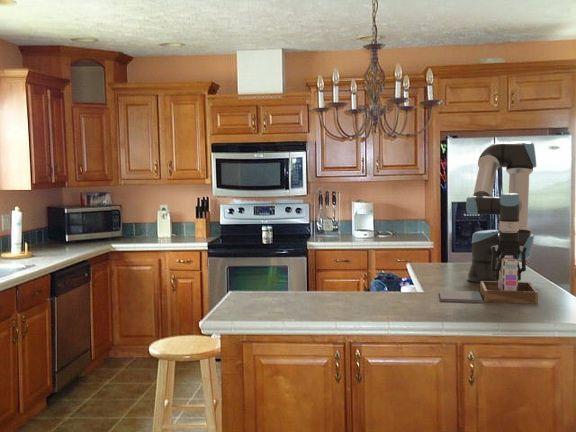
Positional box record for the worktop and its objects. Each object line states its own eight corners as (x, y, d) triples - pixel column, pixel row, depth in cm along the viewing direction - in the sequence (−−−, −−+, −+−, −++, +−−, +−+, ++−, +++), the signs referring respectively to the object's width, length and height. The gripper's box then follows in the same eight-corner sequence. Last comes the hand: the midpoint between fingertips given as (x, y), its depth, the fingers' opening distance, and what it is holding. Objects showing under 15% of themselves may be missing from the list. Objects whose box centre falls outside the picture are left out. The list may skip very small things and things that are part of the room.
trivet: (439, 293, 275) (439, 290, 275) (479, 294, 271) (479, 291, 271) (440, 301, 259) (440, 298, 259) (482, 302, 256) (482, 299, 256)
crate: (480, 291, 277) (480, 281, 277) (529, 293, 273) (529, 282, 273) (484, 301, 258) (484, 290, 257) (537, 303, 253) (538, 292, 253)
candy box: (517, 301, 258) (518, 260, 256) (502, 300, 259) (503, 260, 258) (513, 294, 271) (513, 255, 270) (498, 293, 273) (499, 254, 271)
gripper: (485, 232, 261) (484, 289, 263) (535, 233, 257) (533, 290, 259) (484, 230, 268) (483, 285, 270) (532, 230, 265) (530, 286, 267)
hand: (507, 287), depth 265 cm, fingers closed on candy box, 6 cm apart
